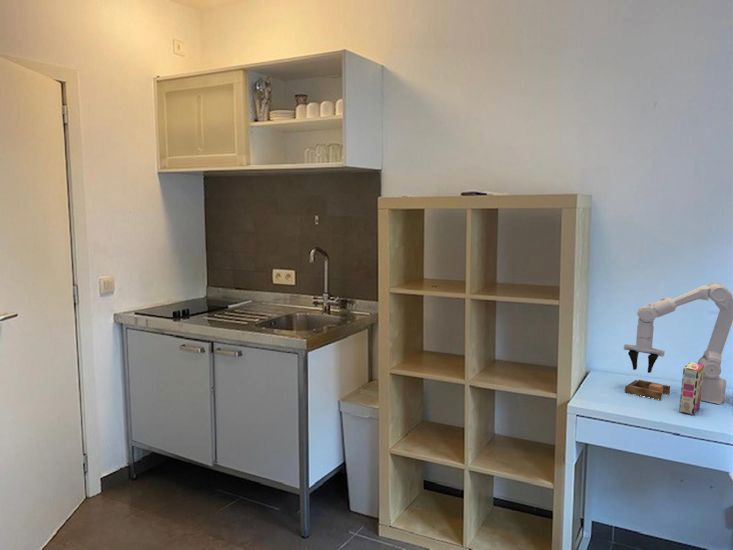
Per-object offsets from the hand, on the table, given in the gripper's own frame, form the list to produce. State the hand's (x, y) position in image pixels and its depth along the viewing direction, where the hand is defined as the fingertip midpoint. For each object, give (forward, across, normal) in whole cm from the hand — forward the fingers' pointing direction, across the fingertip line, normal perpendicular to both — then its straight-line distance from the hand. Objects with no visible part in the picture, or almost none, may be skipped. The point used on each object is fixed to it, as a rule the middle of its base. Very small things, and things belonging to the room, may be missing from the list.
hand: (642, 370), depth 232 cm
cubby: (+8, -2, 0) cm, 9 cm away
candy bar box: (+9, -20, +9) cm, 23 cm away
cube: (+8, -6, 0) cm, 10 cm away
